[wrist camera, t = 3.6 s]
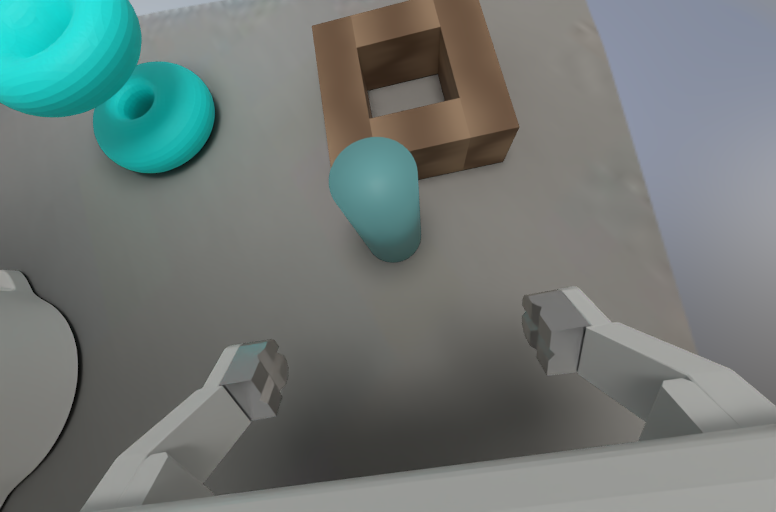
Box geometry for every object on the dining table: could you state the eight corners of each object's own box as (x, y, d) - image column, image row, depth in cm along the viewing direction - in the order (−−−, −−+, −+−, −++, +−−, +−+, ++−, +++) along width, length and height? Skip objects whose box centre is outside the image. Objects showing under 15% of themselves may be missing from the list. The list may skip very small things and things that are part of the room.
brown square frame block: (346, 194, 23) (330, 168, 19) (328, 70, 26) (311, 26, 22) (503, 161, 22) (519, 127, 18) (465, 36, 25) (473, -17, 21)
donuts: (-34, -23, 19) (111, -67, 18) (122, 95, 28) (220, 70, 28) (-66, 110, 16) (99, 65, 16) (116, 190, 26) (224, 165, 25)
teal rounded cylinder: (371, 267, 22) (334, 227, 13) (363, 216, 23) (324, 147, 14) (425, 256, 21) (425, 208, 13) (415, 205, 22) (408, 128, 14)
